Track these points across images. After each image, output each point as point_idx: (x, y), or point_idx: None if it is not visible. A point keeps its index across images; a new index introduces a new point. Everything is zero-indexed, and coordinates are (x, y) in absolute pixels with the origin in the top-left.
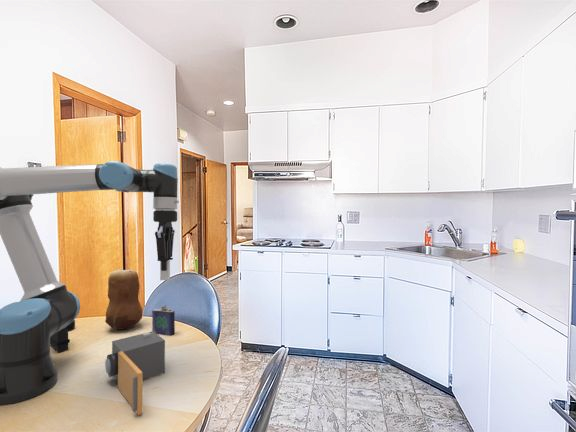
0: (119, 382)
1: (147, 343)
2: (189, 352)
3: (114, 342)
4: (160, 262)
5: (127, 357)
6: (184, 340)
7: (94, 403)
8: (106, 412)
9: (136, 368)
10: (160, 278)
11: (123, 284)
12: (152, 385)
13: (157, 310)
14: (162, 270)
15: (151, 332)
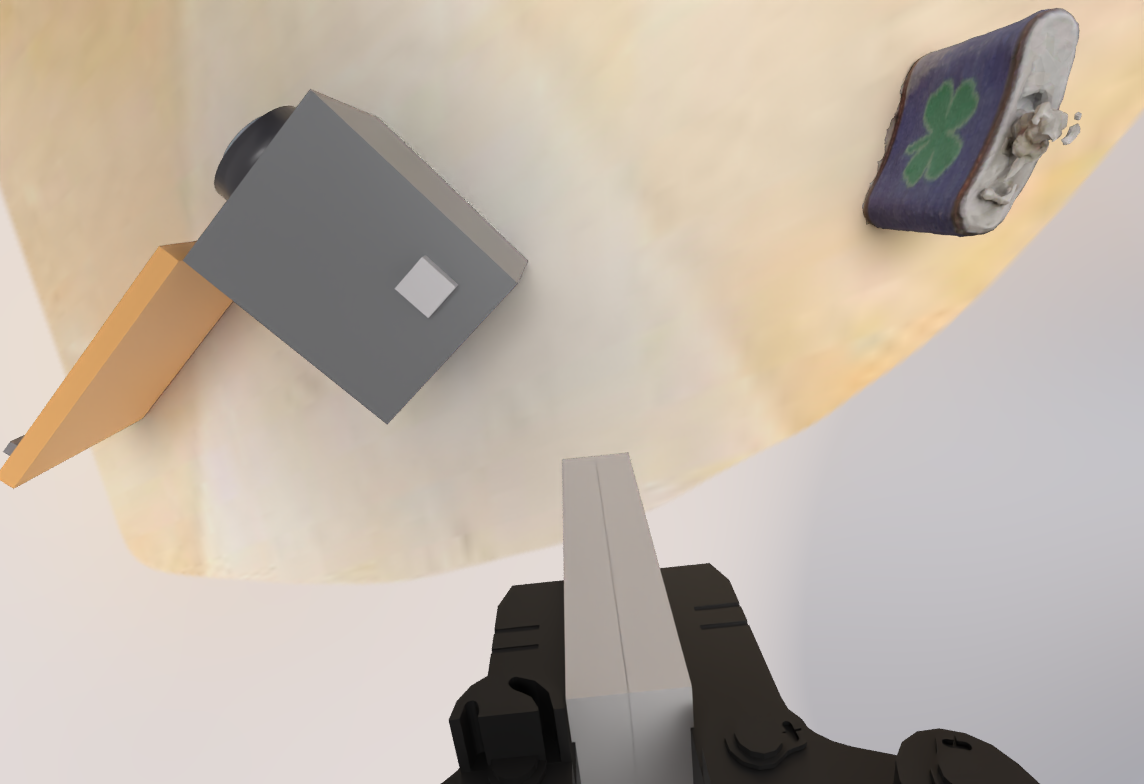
0: None
1: (323, 348)
2: (633, 402)
3: (292, 122)
4: (567, 667)
5: (117, 339)
6: (784, 322)
7: (151, 195)
8: (118, 282)
9: (33, 445)
10: (562, 474)
11: None
12: None
13: (1027, 69)
14: (514, 606)
15: (491, 287)
